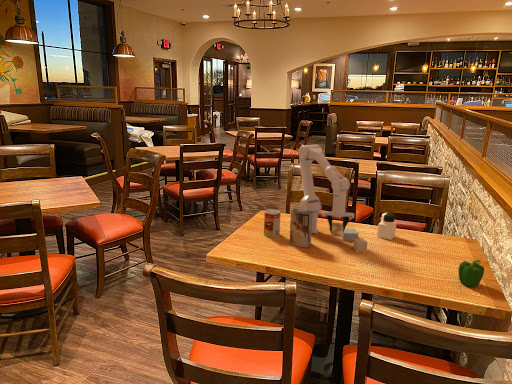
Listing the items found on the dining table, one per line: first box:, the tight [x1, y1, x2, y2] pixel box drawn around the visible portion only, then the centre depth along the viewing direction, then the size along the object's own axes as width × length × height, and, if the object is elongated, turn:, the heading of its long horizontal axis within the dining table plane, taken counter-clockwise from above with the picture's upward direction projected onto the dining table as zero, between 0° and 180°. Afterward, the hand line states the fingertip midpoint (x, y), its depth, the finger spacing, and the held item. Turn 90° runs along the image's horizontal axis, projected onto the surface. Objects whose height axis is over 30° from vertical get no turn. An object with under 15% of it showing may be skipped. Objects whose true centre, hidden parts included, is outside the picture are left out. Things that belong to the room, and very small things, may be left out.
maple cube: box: [330, 222, 343, 238], centre depth 176 cm, size 5×5×5 cm
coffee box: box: [289, 208, 312, 248], centre depth 172 cm, size 9×6×16 cm
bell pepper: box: [457, 259, 485, 288], centre depth 139 cm, size 8×8×10 cm
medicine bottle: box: [376, 212, 397, 241], centre depth 185 cm, size 7×7×12 cm
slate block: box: [341, 227, 359, 242], centre depth 183 cm, size 7×7×4 cm
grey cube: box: [352, 238, 368, 253], centre depth 169 cm, size 4×4×4 cm
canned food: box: [263, 208, 281, 238], centre depth 184 cm, size 8×8×12 cm
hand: (336, 231), depth 176 cm, fingers closed on maple cube, 5 cm apart
